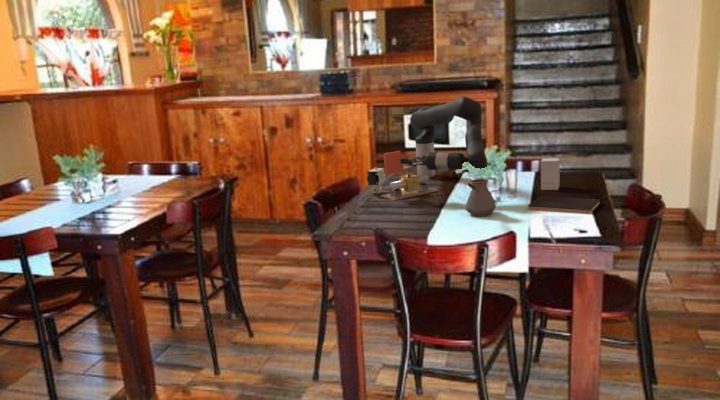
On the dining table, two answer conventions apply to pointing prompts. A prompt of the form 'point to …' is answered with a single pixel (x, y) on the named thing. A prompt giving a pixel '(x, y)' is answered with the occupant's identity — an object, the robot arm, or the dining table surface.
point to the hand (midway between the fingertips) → (401, 161)
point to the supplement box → (550, 174)
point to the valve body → (409, 187)
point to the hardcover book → (564, 204)
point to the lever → (394, 163)
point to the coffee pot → (479, 199)
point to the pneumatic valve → (376, 179)
